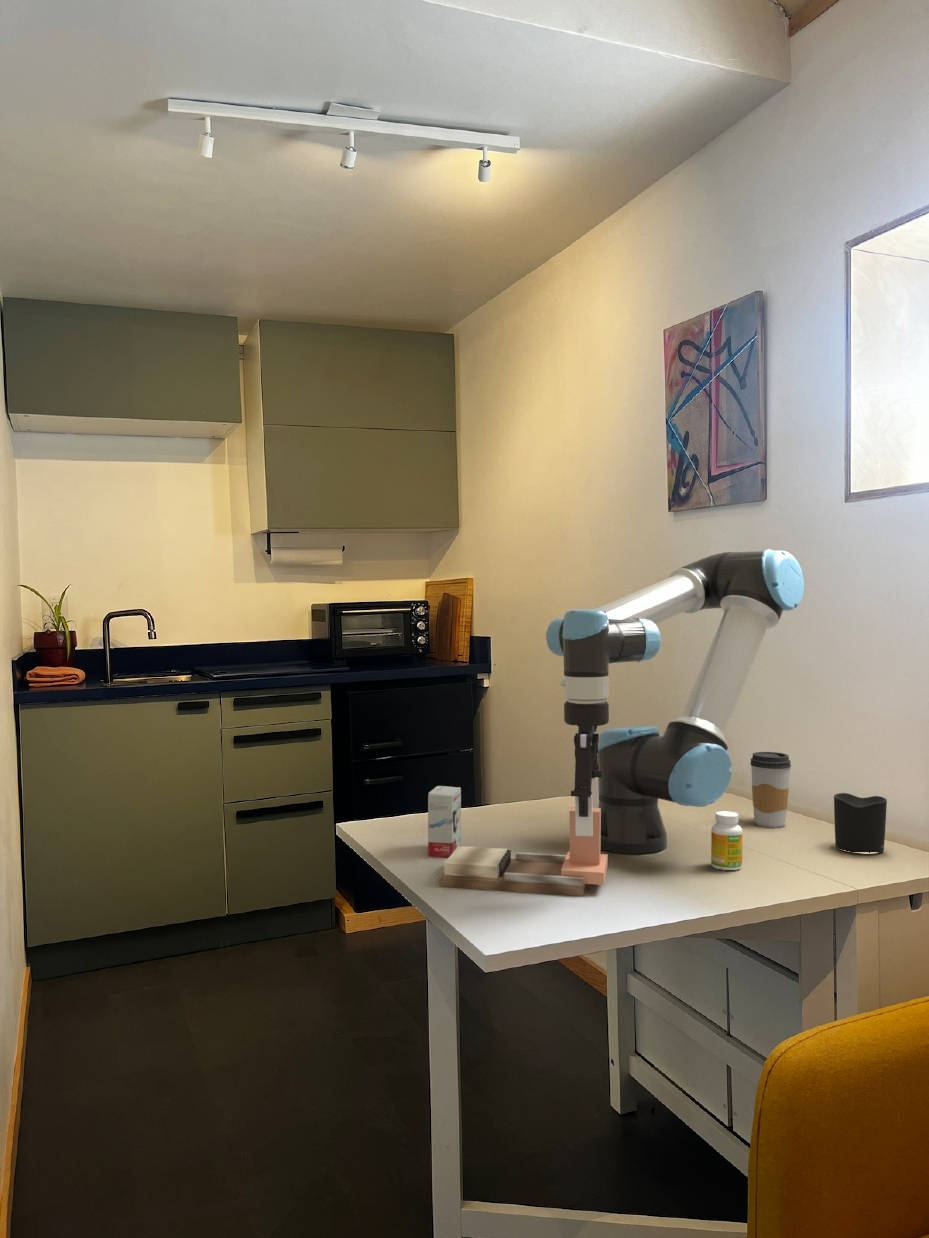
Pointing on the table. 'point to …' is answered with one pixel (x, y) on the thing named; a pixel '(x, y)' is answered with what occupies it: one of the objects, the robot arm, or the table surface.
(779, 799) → the coffee cup
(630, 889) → the table surface
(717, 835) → the supplement bottle
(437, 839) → the ink box
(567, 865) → the stub
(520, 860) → the board
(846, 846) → the pen holder
